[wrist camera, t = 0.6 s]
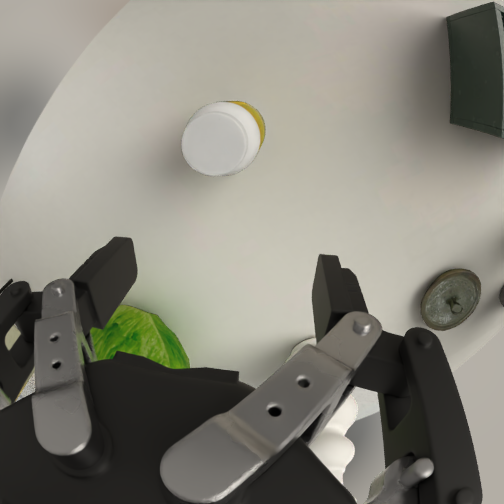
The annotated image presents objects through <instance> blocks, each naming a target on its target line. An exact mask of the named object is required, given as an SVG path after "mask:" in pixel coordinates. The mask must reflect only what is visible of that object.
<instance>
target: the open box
mask: <svg viewBox="0 0 504 504" xmlns="http://www.w3.org/2000/svg"><path fill="white" fill-rule="evenodd" d="M446 18H447V27H448V36H449V48H450V65H451V114H450V123H451V124H455V125H459V126H463V127H467V128H470V129H474V130H478V131H481V132H484V133H488V134H491V135H494V136H497V137H500V138H503V139H504V7H503V6H501V5H499V4H497V3H495V2H490V3H487V4H484V5H480V6H477V7H474V8H471V9H468V10H465V11H462V12H459V13H456V14H453V15H451V16H448V17H446Z"/></svg>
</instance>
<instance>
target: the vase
mask: <svg viewBox="0 0 504 504" xmlns="http://www.w3.org/2000/svg"><path fill="white" fill-rule="evenodd" d="M307 344H311V345H313V346H316V338H311V339H308V340H305V341H303V342H301V343H299V344H298V345H297V346H296V347H295V348H294V349H293V350H292V352H291V356H290V357H289V358H288V359H287V360H286V362H287V361H289V360H290V359H291V358H292V357H293V356H294V355H295V354H296V353H297V352H298V351H299V350H300V349H302V348H303V347H304V346H305V345H307ZM286 362H285V363H286ZM285 363H284V364H285ZM357 413H358V406H357V403H356V401H355V399H354V398H353V396H352V395H351V394H350V395H349V397H348V398H347V399H346V401H345V402H344V403H343V404H342V406H341V407H340V408H339V410H338V411H337V412H336V413H335V415H334V416H333V417H332V418H331V420H330V421H329V422H328V424H327V425H326V427H325V428H324V429H323V431H322V432H321V434H320V435H319V436H318V437H317V439H316V440H315V441H314V442H313V443H312V444H311V445H310V447H309V448H310V449H311V450H312V451H313V453H314V454H315V455H316V456H317V457H318V458H319V459H320V461H321V462H322V463H323V464H324V465H325V466H326V467H327V468H328V469H329V471H330V472H331V473H332V474H333V475H334V476H335V477H336V478H337V479H338V480H339V481H340V483H341V484H342V485H343V473H344V472H345V467H346V465H347V464H348V463H349V462H350V461H351V460H352V458H353V456H354V452H355V448H354V445H353V443H352V442H351V441H350V440H349V439H348V438H346V437H344V435H345V434H346V432H347V429H348V428H349V427H350V426H351V425H352V424H353V423H354V421H355V419H356V417H357ZM354 499H355V498H354ZM355 501H356V502H357V500H356V499H355Z"/></svg>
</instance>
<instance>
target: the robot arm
mask: <svg viewBox="0 0 504 504" xmlns="http://www.w3.org/2000/svg"><path fill="white" fill-rule="evenodd" d="M136 278H137V264H136V258H135V252H134V245H133V241H132V239H131V238H127V237H114V238H113V239H112V240H111V241H110V242H109V243H108V244H107V245H106V246H104V247H102V248H100V249H99V250H97V251H95V252H94V253H93V254H92V255H91V256H90V257H89V259H87V260H86V261H85V262H84V264H82V265H81V266H80V267H79V268H78V269H77V271H76V272H75V273H74V274H73V275H72V276H71V277H70V278H69V279H57V280H55V281H52V282H50V283H49V284H48V285H47V286H46V287H45V288H44V290H43V292H32V291H31V289H30V286H29V284H28V283H27V282H25V281H19V282H16V283H13V284H11V285H10V286H8V287H7V288H6V289H5V290H4V291H3V292H2V294H1V295H0V504H357V503H356V501H355V499H354V497H353V496H352V495H351V493H350V492H349V491H348V490H347V489H346V488H345V487H344V486H343V485H342V484H341V483H340V481H339V480H338V479H337V478H336V477H335V476H334V475H333V474H332V473H331V472H330V471H329V469H328V468H327V467H326V466H325V465H324V464H323V463H322V462H321V461H320V459H319V458H318V457H317V456H316V455H315V454H314V453H313V451H312V450H311V449H310V448H309V447H310V445H311V444H312V443H313V442H314V441H315V440H316V439H317V437H318V436H319V435H320V434H321V432H322V431H323V429H324V428H325V427H326V425H327V424H328V422H329V421H330V420H331V418H332V417H333V416H334V415H335V413H336V412H337V411H338V410H339V408H340V407H341V406H342V404H343V403H344V402H345V401H346V399H347V398H348V397H349V395H350V394H351V393H352V391H353V390H354V389H355V387H360V388H364V389H368V390H371V391H375V392H378V400H379V407H380V415H381V423H382V432H383V442H384V455H385V470H384V471H382V472H381V473H380V474H379V475H377V476H376V477H375V479H374V480H373V481H372V483H371V486H370V491H369V496H368V498H367V500H366V502H365V503H364V504H481V503H482V488H481V482H480V476H479V470H478V465H477V460H476V455H475V451H474V446H473V443H472V438H471V434H470V431H469V426H468V423H467V419H466V415H465V412H464V409H463V405H462V402H461V399H460V396H459V393H458V390H457V386H456V384H455V380H454V377H453V375H452V372H451V369H450V366H449V363H448V361H447V358H446V355H445V353H444V350H443V348H442V345H441V343H440V341H439V339H438V337H437V336H436V335H435V334H434V333H432V332H431V331H429V330H427V329H425V328H420V327H415V328H411V329H409V330H408V331H407V332H406V334H405V336H404V337H403V336H399V335H395V334H392V333H388V332H386V331H383V330H382V326H381V323H380V322H379V321H378V320H377V319H376V318H375V317H374V316H372V315H370V314H369V313H368V310H367V307H366V304H365V301H364V297H363V295H362V292H361V289H360V286H359V283H358V280H357V277H356V275H355V274H354V273H353V272H352V271H351V270H350V269H348V268H341V265H340V262H339V258H338V256H335V255H324V254H320V255H319V257H318V262H317V267H316V272H315V278H314V283H313V289H312V305H313V314H314V324H315V334H316V346H313V345H311V344H307V345H305V346H304V347H303V348H302V349H300V350H299V351H298V352H297V353H296V354H295V355H294V356H293V357H292V358H291V359H290V360H289V361H287V362H286V363H285V364H284V365H283V366H282V367H281V368H280V369H279V370H277V371H276V372H275V373H274V374H273V375H272V376H271V377H269V378H268V379H267V380H266V381H265V382H264V383H262V384H261V385H260V386H259V387H258V388H257V389H255V388H253V387H252V386H250V385H247V384H245V383H243V382H240V381H239V372H238V371H230V370H221V369H214V368H207V367H205V368H183V369H172V368H168V367H166V366H164V365H161V364H159V363H157V362H155V361H153V360H150V359H148V358H146V357H144V356H139V355H135V354H130V353H126V352H122V351H116V353H115V355H114V357H113V359H103V360H97V356H96V352H95V347H94V342H93V338H92V334H91V332H90V330H91V329H92V327H93V328H97V329H102V330H103V329H104V328H105V326H106V324H107V323H108V321H109V320H110V318H111V317H112V315H113V314H114V312H115V311H116V309H117V308H118V306H119V305H120V303H121V302H122V300H123V299H124V297H125V296H126V294H127V293H128V291H129V290H130V288H131V287H132V285H133V284H134V283H135V281H136ZM14 323H15V324H16V326H17V328H18V330H19V331H20V333H21V334H20V336H19V337H18V339H17V340H16V341H15V343H14V344H13V346H12V347H11V349H10V350H8V348H7V347H6V344H5V337H6V334H7V333H8V331H9V330H10V329H11V327H12V326H13V325H14ZM34 367H35V386H36V389H35V392H34V393H32V394H30V395H28V396H26V397H24V398H22V399H20V400H19V401H17V402H15V400H16V398H17V397H18V395H19V393H20V391H21V389H22V387H23V386H24V384H25V382H26V380H27V379H28V377H29V375H30V373H31V372H32V370H33V368H34ZM14 402H15V403H14Z"/></svg>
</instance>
